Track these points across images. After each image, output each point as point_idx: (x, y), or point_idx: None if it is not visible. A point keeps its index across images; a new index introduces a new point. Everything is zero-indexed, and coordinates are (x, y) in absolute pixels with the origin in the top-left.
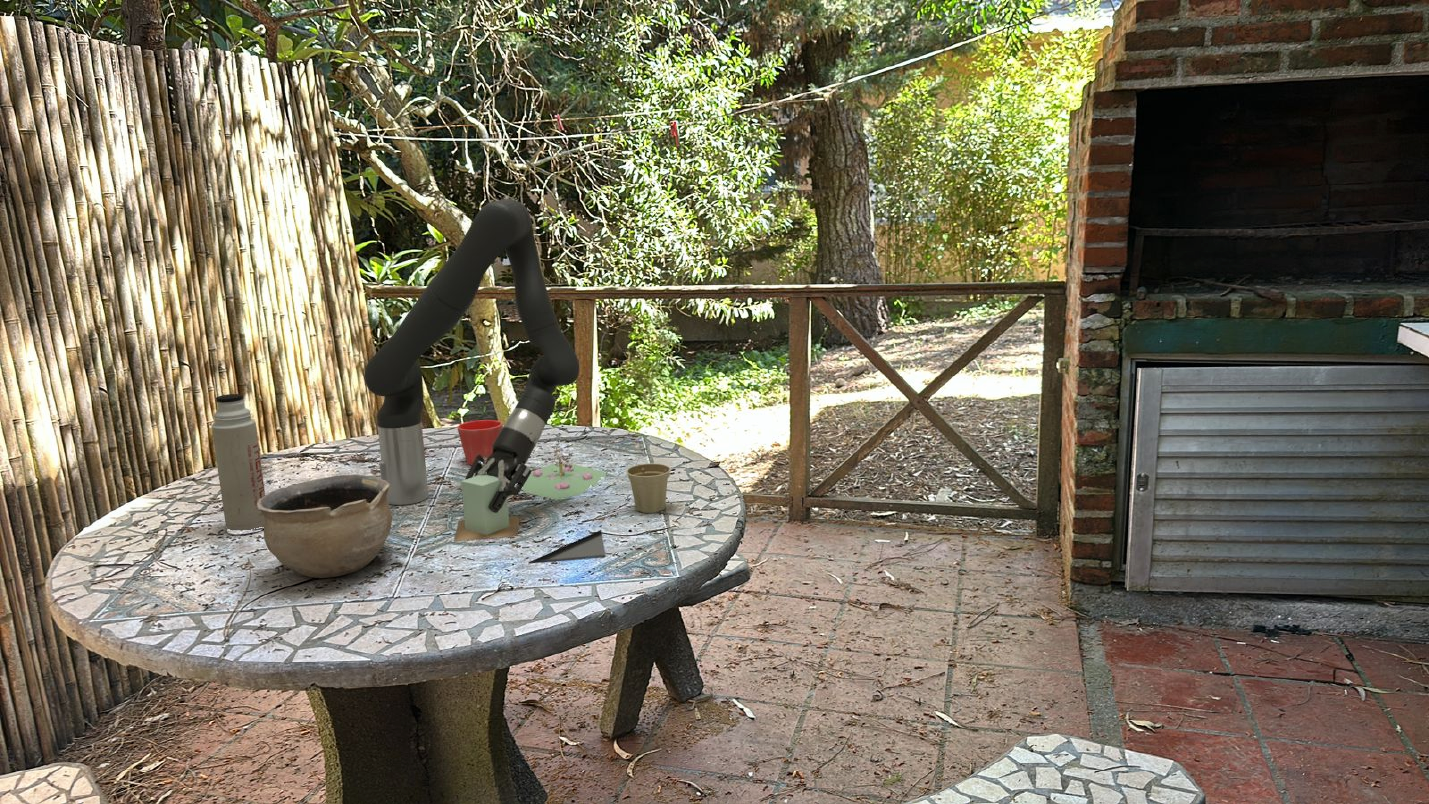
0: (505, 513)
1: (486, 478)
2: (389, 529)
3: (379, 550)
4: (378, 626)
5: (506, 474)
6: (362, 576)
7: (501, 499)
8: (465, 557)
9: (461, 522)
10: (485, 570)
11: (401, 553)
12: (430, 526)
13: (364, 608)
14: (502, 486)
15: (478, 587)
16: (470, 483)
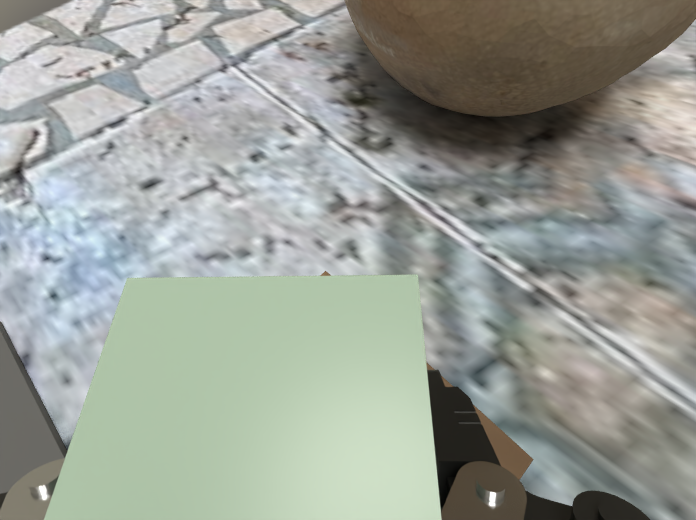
0: None
1: (240, 491)
2: (381, 33)
3: (384, 67)
4: (170, 15)
5: None
6: (381, 81)
7: None
8: (239, 256)
9: (493, 443)
10: (117, 226)
11: (439, 186)
12: (634, 396)
13: (246, 29)
14: (29, 503)
15: (78, 159)
16: (288, 278)
